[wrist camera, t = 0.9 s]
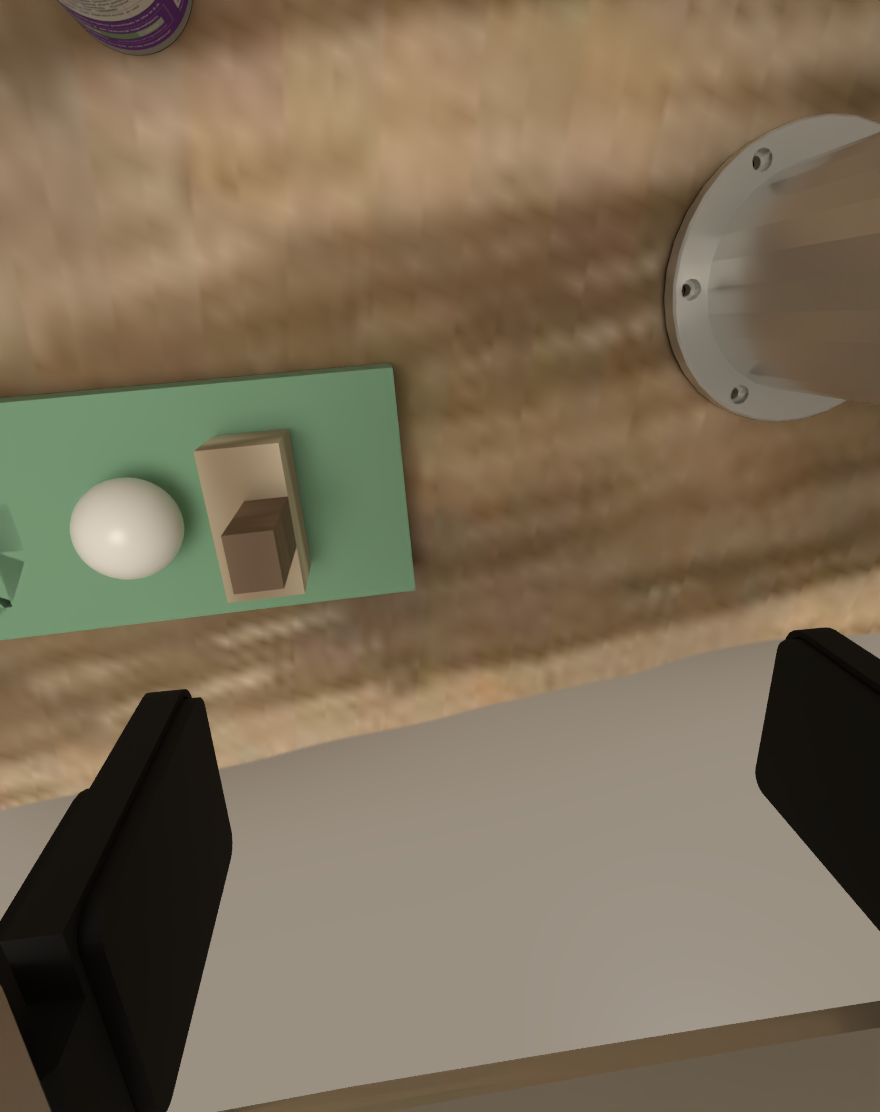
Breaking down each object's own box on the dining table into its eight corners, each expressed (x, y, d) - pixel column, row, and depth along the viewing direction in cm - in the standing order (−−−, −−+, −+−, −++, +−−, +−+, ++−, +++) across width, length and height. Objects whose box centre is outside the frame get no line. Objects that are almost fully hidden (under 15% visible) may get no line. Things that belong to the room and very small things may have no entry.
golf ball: (183, 462, 25) (152, 486, 22) (204, 552, 27) (179, 589, 23) (82, 472, 25) (34, 498, 21) (109, 563, 26) (68, 602, 23)
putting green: (389, 362, 28) (392, 367, 25) (410, 566, 31) (415, 590, 29) (-282, 423, 25) (-361, 435, 23) (-175, 635, 29) (-232, 668, 26)
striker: (288, 428, 25) (261, 467, 18) (311, 564, 27) (294, 642, 21) (213, 435, 25) (158, 477, 18) (242, 572, 27) (203, 654, 20)
